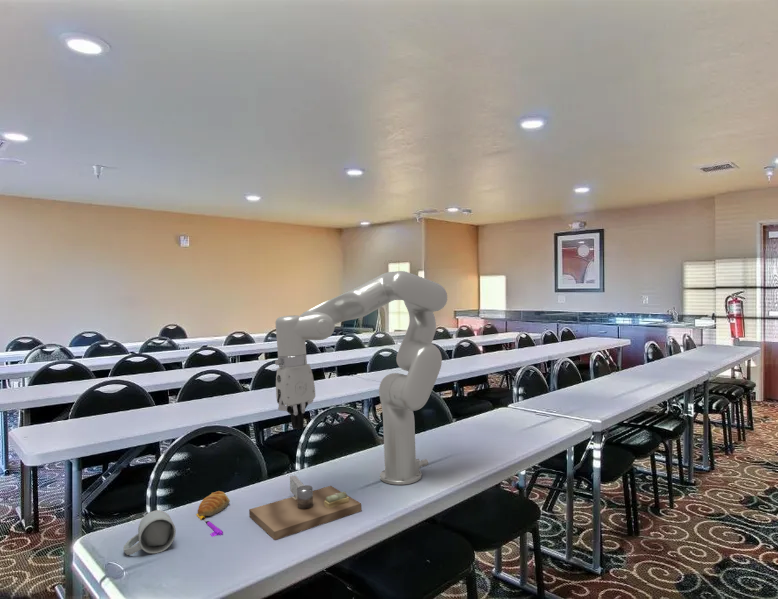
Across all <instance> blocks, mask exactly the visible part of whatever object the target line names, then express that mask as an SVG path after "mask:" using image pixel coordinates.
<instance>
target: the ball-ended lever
mask: <svg viewBox="0 0 778 599" xmlns="http://www.w3.org/2000/svg"><path fill="white" fill-rule="evenodd" d="M289 488H290V489H289V490H290V492H291V494H292V495H293V496H295V497H296V499H297V506H298V507H299V508H303V509H304V508H310V507H312V506H313V491H314V489H313V488H314V487H313V486H312V485H306V484H305V485H304V484H303V482H302V481H301V480H300V479H299V478H298V477H297V475H292V476H289Z"/></svg>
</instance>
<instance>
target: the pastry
mask: <svg viewBox="0 0 778 599" xmlns="http://www.w3.org/2000/svg"><path fill="white" fill-rule="evenodd" d="M230 502H231V500H230V499H229V497H228V495H226V493H225V492H224V491H220V490H218V491H215V492H211V494H209V495H207V496H206V497H204V498H203V499H202V501H201V502H200V504H199V505H198V509H197V514H198V515H199V516H204V517H209V516H214V515H215V514H219V513H220V512H221V511H223V510H224V509H225V508H227V507H228V505H229V503H230Z"/></svg>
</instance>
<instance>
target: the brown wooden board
mask: <svg viewBox="0 0 778 599" xmlns="http://www.w3.org/2000/svg"><path fill="white" fill-rule="evenodd" d="M248 512H249V514H248V515H249V518H250V519H251V520H252V521H253V522H254V523H255V524H257V526H258V527H260V528H261V529H262V530H263V531H264V532H265V533H266V534H268V535H269V537H270V538H272V539H273V540H274V541H277V540H279V539H283V538H286V537H288V536H291V535H294V534H297V533H300V532H304V531H306V530H310V529H312V528H315V527H317V526H321V525H324V524H327V523H330V522H333V521H335V520H339V519H341V518H345V517H348V516H350V515H351V516H352V515H354V514H357V513H359V512H360V513H361V512H362V502H360V501H358V500H356V499H354V498H352V497H351V496H349V495H348V494H347V492H346V491H341V490H339V489H337V488H336V487H333V486H332V485H329V486H326V487H321V488H318V489H315V490H314V489H313V506H312V507H310V508H304V509H303V508H299V507H298V506H297V499H296V497H295V496H294V495H293V496H290V497H286V498H283V499H279V500H277V501H273V502H270V503H266V504H263V505H259V506H256V507H253V508H249V509H248Z"/></svg>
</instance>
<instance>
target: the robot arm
mask: <svg viewBox="0 0 778 599" xmlns="http://www.w3.org/2000/svg"><path fill="white" fill-rule="evenodd" d="M393 301H403V303H404V305H405V307H406V310H407V312H408V315H409V316H408V317H409V323H408V327H407V330H406V331H405V335H404V336H403V339H402V341H401V344H400V347H399V348H398V351H397V354H396V364H397V366H398V367H399V369H401V370H403V371H406V372H407V374H403V373H398V372H393V373H389V374H387V375H385V376H384V377H383V378H382V379H381V381H380V383H379V387H378V388H379V389H378V394H379V400H380V405H381V412H382V426H383V429H382V430H383V449H384V450H383V452H384V453H383V454H384V455H383V456H384V457H383V458H384V470H382V471H381V472H380V473H379V478H380V481H382V483H383V482H384V483H386V484H390V485H394V486H395V485H399V486H401V485H409V484H410V485H411V484H414V483H417V482H418V481H420V480H421V478H422V476H423V475H422V472H421V470H420V469H421V468H423V467H426V466H427V467H428V466H429V461H428V459H427V458H424V459H422V460H420V459H419V458H417V455H416V454H417V453H416V452H417V451H416V433H415V432H416V431H415V428H416V427H415V425H416V424H415V415H414V411H415V412H416V411H418V410H420V409H422V408H423V407H424V406H425V405H426V404H427V402H428V400H429V398H430V395H431V394H432V391H433V389H434V387H435V385H436V382H437V379H438V376H439V374H440V372H441V369H442V364H443V363H442V362H443V358H442V353H441V351H440V349H439V348H438V347H437V346H436V345H435V344H433V340H434V337H435V334H436V331H437V320H436V317H435V312H438V311H441V310H443V309H444V307H446V304H447V302H448V293H447V291H446V289H445V287H443V286H442V285H441V284H439V283H438V282H436V281H433V280H430V279H429V278H425V277H422V276H419V275H417V274H414V273H411V272H408V271H405V270H403V271H402V270H398V271H388V272H387V271H386V272H385V273H382V274H380V275H378V276H376V277H374V278H372V279H369V280H368V281H366V282H364V283H362V284H361V285H359V286H357V287H355V288H352V289H350V290H349V291H346V292H344V293H342V294H340V295H337V296H335V297H333V298H330V299H328V300H326V301H323V302H322V303H320V304H317V305H316V306H313V307H311V308H309V309H308V310H306V311H304V312H303V313H301V314H300V315H283V316H279V317H277V318H276V320H275V336H276V347H277V359H276V360H275V361H274V364H275V365H276V366H278V367H277V369H276V376H275V398H276V403H277V404H278V406H277V407H278V411H282V412H284V411H285V412H287V413H288V414H289V415H290V421H291V422H290V423H291V427H292V429H294V430H301V429H304V428H305V426H304V425H305V419H304V417H305V416H304V414H305V412H306V408H307V407H308V406H309V405H310V404H312V403H313V402H314V399H315V398H316V386H315V381H314V380H315V379H314V374H313V370H312V368H311V365H310V363H308V361H307V360H308V359H307V348H306V347H307V346H306V341H323V340H327V339H328V338H330V337H331V336H332V335H333V333H334V331H335V328H336V324H339V323H342V322H346V321H351V320H357V319H360V318H364V317H366V316H368V315H370V314H371V313H374V312H375V311H376V310H378V309H380V308H382V307H384V306H386V305H387V304H389V303H391V302H393ZM416 458H417V459H416Z"/></svg>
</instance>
